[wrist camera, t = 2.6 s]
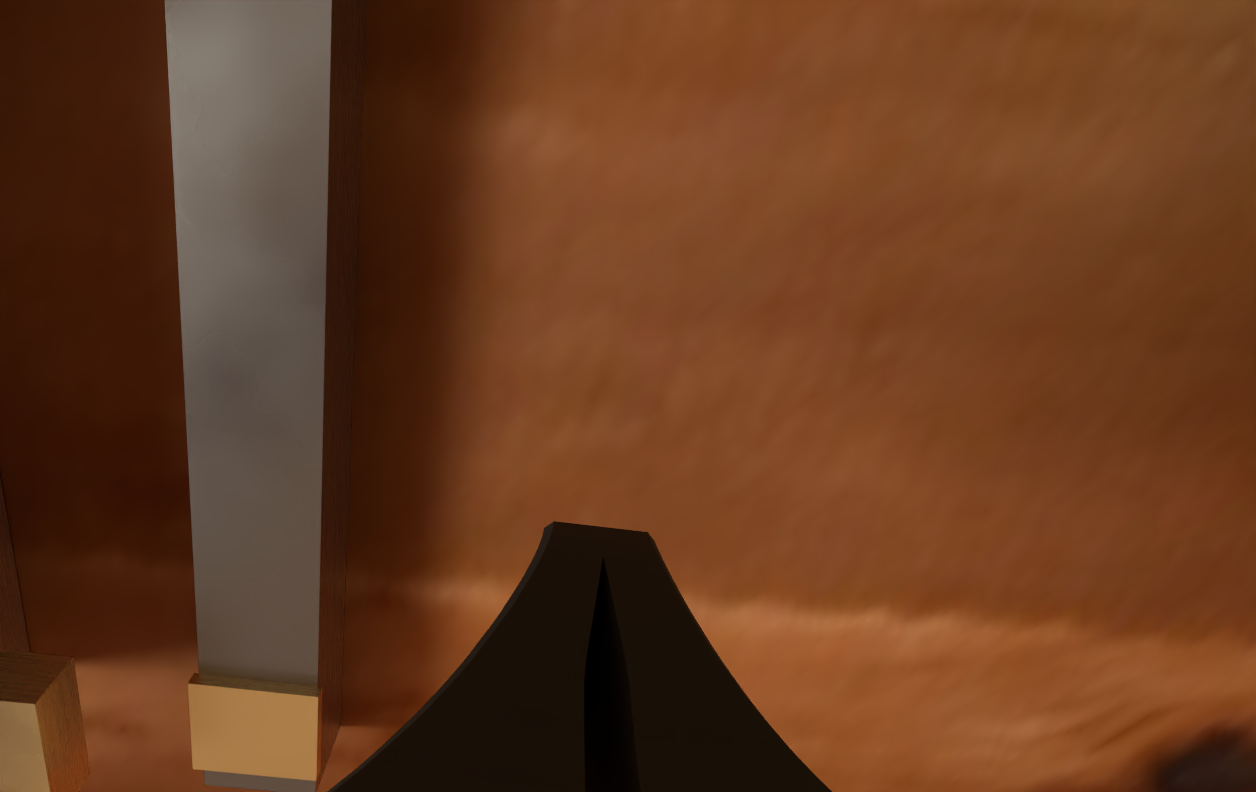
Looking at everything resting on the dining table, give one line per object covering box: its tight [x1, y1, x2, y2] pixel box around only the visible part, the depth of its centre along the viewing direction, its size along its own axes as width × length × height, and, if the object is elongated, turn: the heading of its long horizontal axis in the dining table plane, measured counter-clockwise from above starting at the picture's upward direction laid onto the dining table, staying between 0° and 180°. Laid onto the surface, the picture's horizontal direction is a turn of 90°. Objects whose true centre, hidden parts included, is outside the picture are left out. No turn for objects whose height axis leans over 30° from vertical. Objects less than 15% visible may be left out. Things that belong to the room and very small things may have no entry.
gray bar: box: [165, 0, 366, 792], centre depth 16 cm, size 20×3×3 cm, turn 171°
